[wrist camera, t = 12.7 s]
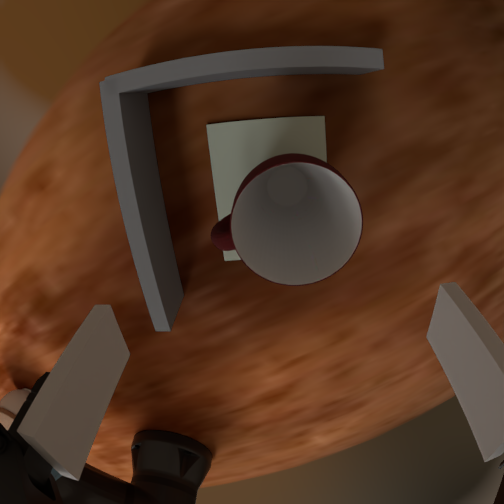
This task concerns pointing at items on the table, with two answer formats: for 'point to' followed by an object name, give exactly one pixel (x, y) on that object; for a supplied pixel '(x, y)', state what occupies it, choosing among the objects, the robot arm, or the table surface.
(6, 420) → the white lidded pot
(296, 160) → the mug
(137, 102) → the corner arena
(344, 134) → the table surface
